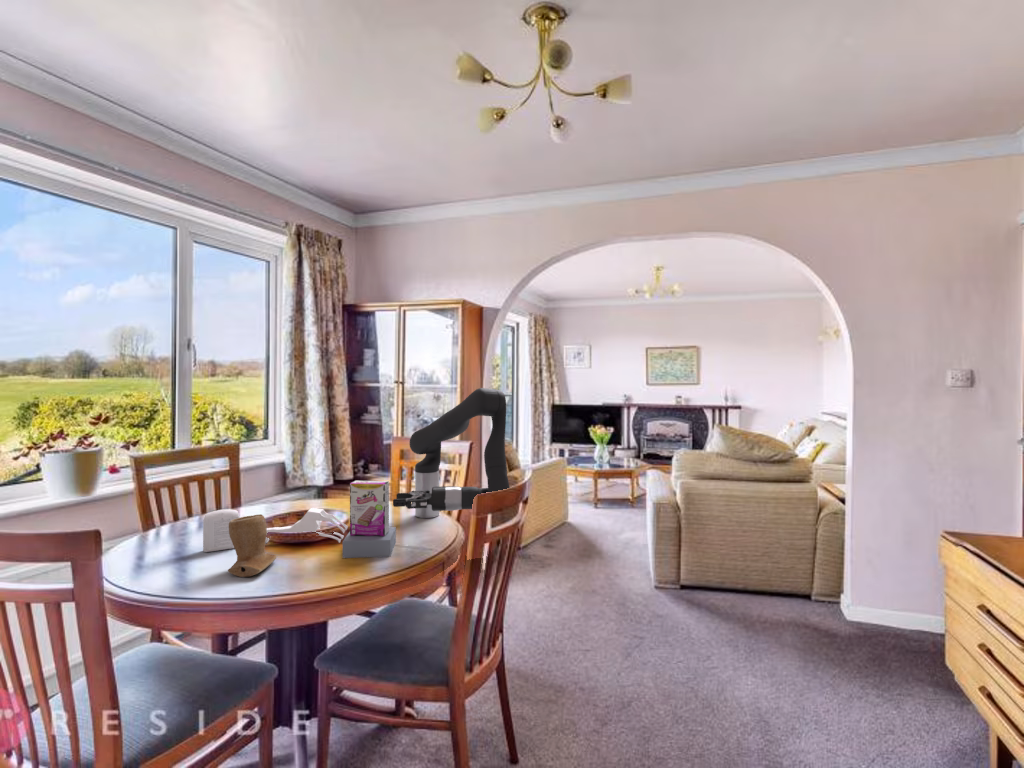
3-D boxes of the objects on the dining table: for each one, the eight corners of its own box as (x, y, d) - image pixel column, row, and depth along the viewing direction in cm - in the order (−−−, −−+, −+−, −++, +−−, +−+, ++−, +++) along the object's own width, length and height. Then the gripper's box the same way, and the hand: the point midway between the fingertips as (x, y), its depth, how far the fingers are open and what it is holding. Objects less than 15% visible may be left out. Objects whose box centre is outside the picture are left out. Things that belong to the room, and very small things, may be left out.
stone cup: (240, 560, 161) (239, 510, 161) (281, 560, 162) (281, 509, 161) (214, 580, 146) (214, 524, 146) (260, 579, 146) (259, 523, 146)
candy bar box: (349, 536, 168) (348, 483, 168) (354, 531, 173) (354, 480, 173) (385, 536, 167) (384, 483, 167) (389, 532, 172) (389, 480, 172)
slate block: (352, 543, 177) (351, 528, 177) (395, 542, 178) (395, 527, 178) (342, 558, 163) (342, 541, 163) (390, 556, 164) (390, 539, 164)
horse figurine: (332, 565, 183) (260, 538, 180) (351, 519, 183) (279, 492, 181) (328, 570, 178) (254, 543, 175) (347, 523, 178) (274, 496, 176)
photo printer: (239, 544, 177) (238, 506, 177) (240, 547, 173) (240, 509, 173) (202, 550, 171) (202, 510, 171) (203, 553, 168) (203, 513, 167)
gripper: (447, 482, 179) (397, 483, 178) (446, 491, 165) (391, 492, 164) (447, 505, 180) (397, 506, 178) (446, 516, 165) (392, 517, 164)
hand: (394, 499), depth 171 cm, fingers open, 8 cm apart
